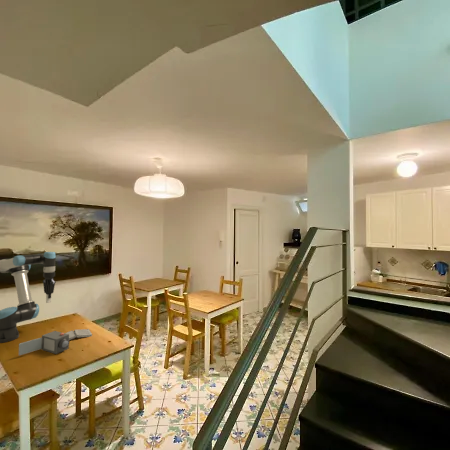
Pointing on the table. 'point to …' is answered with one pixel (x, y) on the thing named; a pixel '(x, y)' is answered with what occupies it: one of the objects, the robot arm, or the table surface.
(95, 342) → the table surface
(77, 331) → the gadget
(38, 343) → the door
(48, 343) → the cam body
